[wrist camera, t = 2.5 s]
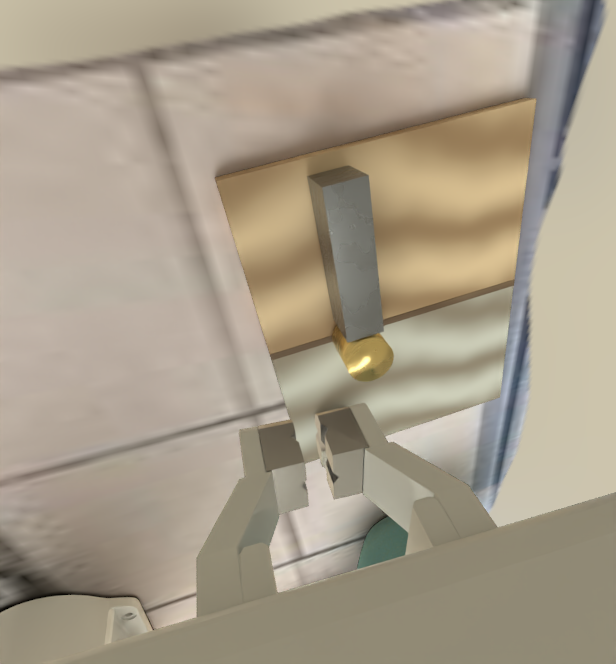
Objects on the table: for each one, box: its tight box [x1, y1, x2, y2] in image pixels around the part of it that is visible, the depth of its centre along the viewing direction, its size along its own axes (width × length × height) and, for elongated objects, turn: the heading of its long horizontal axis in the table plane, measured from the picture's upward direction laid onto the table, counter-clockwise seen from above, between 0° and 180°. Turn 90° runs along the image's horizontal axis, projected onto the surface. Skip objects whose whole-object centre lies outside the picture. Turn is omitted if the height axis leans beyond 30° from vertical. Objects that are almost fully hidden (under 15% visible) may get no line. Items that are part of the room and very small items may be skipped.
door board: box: [215, 98, 536, 463], centre depth 33 cm, size 28×22×1 cm
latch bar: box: [307, 165, 394, 382], centre depth 27 cm, size 15×4×4 cm, turn 11°
